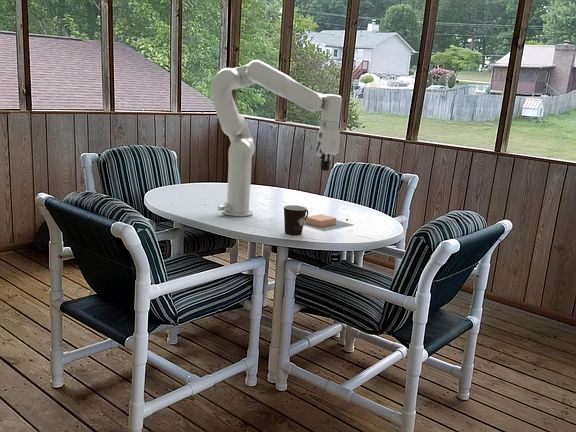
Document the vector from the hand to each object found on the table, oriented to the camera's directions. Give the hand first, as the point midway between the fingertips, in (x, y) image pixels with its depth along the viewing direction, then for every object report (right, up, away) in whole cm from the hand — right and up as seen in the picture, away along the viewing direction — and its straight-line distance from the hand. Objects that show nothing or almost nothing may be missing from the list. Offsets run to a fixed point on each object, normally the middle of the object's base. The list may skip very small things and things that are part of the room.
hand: (324, 170), depth 230 cm
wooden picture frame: (+2, -20, 0) cm, 20 cm away
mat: (-1, -22, -2) cm, 23 cm away
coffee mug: (-12, -26, -19) cm, 34 cm away
